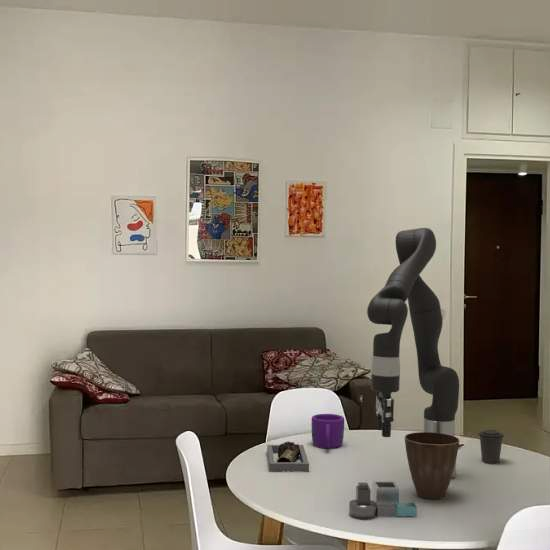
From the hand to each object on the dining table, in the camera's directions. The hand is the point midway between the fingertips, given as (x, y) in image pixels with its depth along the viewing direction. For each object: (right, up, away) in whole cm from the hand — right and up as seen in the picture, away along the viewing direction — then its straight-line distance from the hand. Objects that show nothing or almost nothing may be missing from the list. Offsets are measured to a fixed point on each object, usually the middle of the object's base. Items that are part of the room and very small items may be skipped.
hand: (383, 433), depth 205 cm
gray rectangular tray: (-25, -17, +40) cm, 50 cm away
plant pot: (+14, -19, +8) cm, 25 cm away
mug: (-11, -17, +59) cm, 62 cm away
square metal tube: (+1, -19, 0) cm, 19 cm away
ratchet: (-2, -19, -9) cm, 21 cm away
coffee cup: (+41, -18, +43) cm, 62 cm away
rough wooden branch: (-25, -18, +39) cm, 50 cm away
